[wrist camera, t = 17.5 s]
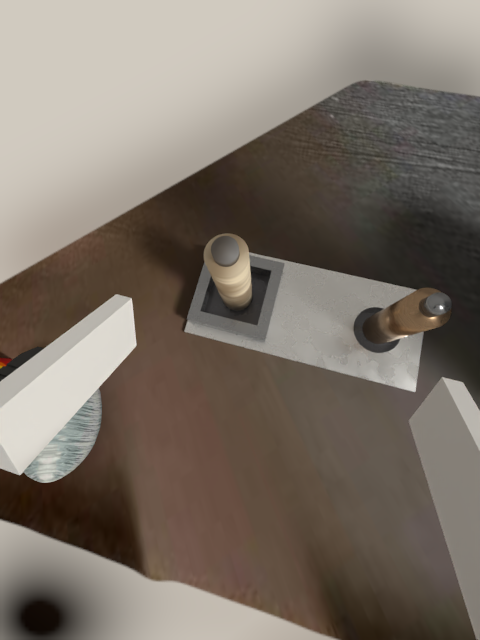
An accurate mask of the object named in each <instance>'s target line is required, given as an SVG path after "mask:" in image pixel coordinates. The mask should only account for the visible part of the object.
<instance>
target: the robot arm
mask: <svg viewBox="0 0 480 640" xmlns="http://www.w3.org/2000/svg"><path fill="white" fill-rule="evenodd" d="M135 347H136V336H135V326H134V315H133V305H132V298H129V297H125V296H121V295H117V294H116V295H115V296H113V297H112V298H111V299H109V300H108V301H107V302H105V303H104V304H103V305H101V306H100V307H99V308H97V309H96V310H95V311H93V312H92V313H91V314H89V315H88V316H87V317H85V318H84V319H83V320H81V321H80V322H79V323H77V324H76V325H75V326H73V327H72V328H71V329H69V330H68V331H67V332H65V333H64V334H63V335H61V336H60V337H59V338H57V339H56V340H55V341H53V342H52V343H51V344H49V345H48V346H47V347H46V348H41V347H36V348H34V349H31V350H29V351H27V352H24V353H22V354H20V355H19V356H17V357H16V358H14V359H13V360H12V361H10V362H9V363H7V365H6V366H3V367H2V368H0V468H1V469H4V470H7V471H9V472H12V473H15V474H18V475H21V474H22V472H23V471H24V470H25V469H26V468H27V467H28V466H29V465H30V464H31V462H32V461H33V460H34V459H35V458H36V457H37V456H38V455H39V454H40V452H41V451H42V450H43V449H44V448H45V447H46V446H47V445H48V444H49V442H50V441H51V440H52V439H53V438H54V437H55V436H56V435H57V434H58V432H59V431H60V430H61V429H62V428H63V427H64V426H65V425H66V423H67V422H68V421H69V420H70V419H71V418H72V417H73V416H74V415H75V413H76V412H77V411H78V410H79V409H80V408H81V407H82V406H83V405H84V403H85V402H86V401H87V400H88V399H89V398H90V397H91V396H92V395H93V393H94V392H95V391H96V390H97V389H98V388H99V387H100V386H101V385H102V383H103V382H104V381H105V380H106V379H107V378H108V377H109V376H110V375H111V373H112V372H113V371H114V370H115V369H116V368H117V367H118V366H119V365H120V363H121V362H122V361H123V360H124V359H125V358H126V357H127V356H128V355H129V353H130V352H131V351H132V350H133V349H134V348H135ZM409 424H410V427H411V430H412V433H413V437H414V440H415V443H416V446H417V450H418V453H419V456H420V459H421V462H422V466H423V469H424V472H425V475H426V479H427V482H428V485H429V488H430V491H431V495H432V498H433V501H434V504H435V508H436V511H437V514H438V517H439V520H440V524H441V527H442V530H443V533H444V537H445V540H446V543H447V546H448V549H449V553H450V556H451V559H452V562H453V566H454V569H455V572H456V575H457V578H458V582H459V585H460V588H461V591H462V595H463V598H464V601H465V604H466V607H467V611H468V614H469V617H470V620H471V624H472V627H473V630H474V633H475V636H476V639H478V640H480V411H479V409H478V407H477V405H476V404H475V402H474V400H473V399H472V397H471V395H470V393H469V392H468V390H467V388H466V387H465V385H464V383H463V382H459V381H456V380H452V379H448V378H444V377H442V378H441V379H440V380H439V382H438V383H437V384H436V386H435V387H434V388H433V390H432V391H431V392H430V394H429V395H428V396H427V397H426V399H425V400H424V401H423V403H422V404H421V405H420V407H419V408H418V409H417V411H416V412H415V413H414V414H413V416H412V417H411V418H410V420H409Z"/></svg>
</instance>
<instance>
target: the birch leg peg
mask: <svg viewBox="0 0 480 640" xmlns="http://www.w3.org/2000/svg"><path fill="white" fill-rule="evenodd" d="M204 261H205V264H206V266H207V268H208V270H209V272H210V274H211V277H212V279H213V281H214V283H215V285H216V287H217V289H218V292H219V294H220V296H221V298H222V300H223V302H224V304H225V305H226V306H227V307H228V308H229V309H231V310H237V311H238V310H242V309H245V308H246V307H247V306H248V305H249V304H250V303H251V301H252V284H251V272H250V259H249V249H248V246H247V244H246V243H245V241H244V240H243V239H242V238H240V237H239V236H237V235H234V234H229V233H226V234H220V235H217V236H215V237H214V238H212V239H211V240H210V241H209V242H208V244H207V245H206V247H205V250H204Z"/></svg>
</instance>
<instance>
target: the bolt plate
mask: <svg viewBox="0 0 480 640" xmlns="http://www.w3.org/2000/svg"><path fill="white" fill-rule="evenodd" d="M249 259H250V272H251V284H252V301H251V303H250V304H249V305H248V306H247V307H246V308H245V309H242V310H238V311H237V310H231V309H229V308H228V307H227V306H226V305H225V304H224V302H223V300H222V298H221V296H220V294H219V292H218V289H217V287H216V285H215V283H214V281H213V279H212V277H211V274H210V272H209V270H208V268H207V266H206V264H205V262H204V265H203V268H202V271H201V274H200V278H199V281H198V284H197V287H196V290H195V294H194V297H193V300H192V303H191V306H190V310H189V313H188V316H187V320H188V321H187V324H186V328H185V331H184V332H186V333H190V334H194V335H197V336H201V337H205V338H209V339H213V340H217V341H220V342H224V343H228V344H232V345H236V346H239V347H243V348H247V349H251V350H255V351H258V352H262V353H266V354H270V355H274V356H278V357H281V358H285V359H289V360H293V361H297V362H300V363H304V364H308V365H312V366H316V367H319V368H323V369H327V370H331V371H335V372H338V373H342V374H346V375H350V376H354V377H358V378H361V379H365V380H369V381H373V382H377V383H380V384H384V385H388V386H392V387H396V388H399V389H403V390H407V391H411V392H415V389H416V382H417V375H418V368H419V361H420V354H421V347H422V340H423V333H424V331H427V330H430V329H434V328H437V327H440V326H442V325H444V324H445V323H446V322H447V321H448V320H449V318H450V316H451V307H452V302H451V299H450V298H449V297H448V296H447V295H446V294H444V293H442V292H440V291H438V290H436V289H433V288H421V289H418V290H415V289H411V288H406V287H402V286H397V285H393V284H388V283H384V282H379V281H375V280H370V279H366V278H362V277H357V276H353V275H348V274H344V273H339V272H335V271H330V270H326V269H321V268H317V267H312V266H308V265H303V264H299V263H294V262H290V261H285V260H281V259H276V258H272V257H267V256H263V255H258V254H254V253H249Z"/></svg>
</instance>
